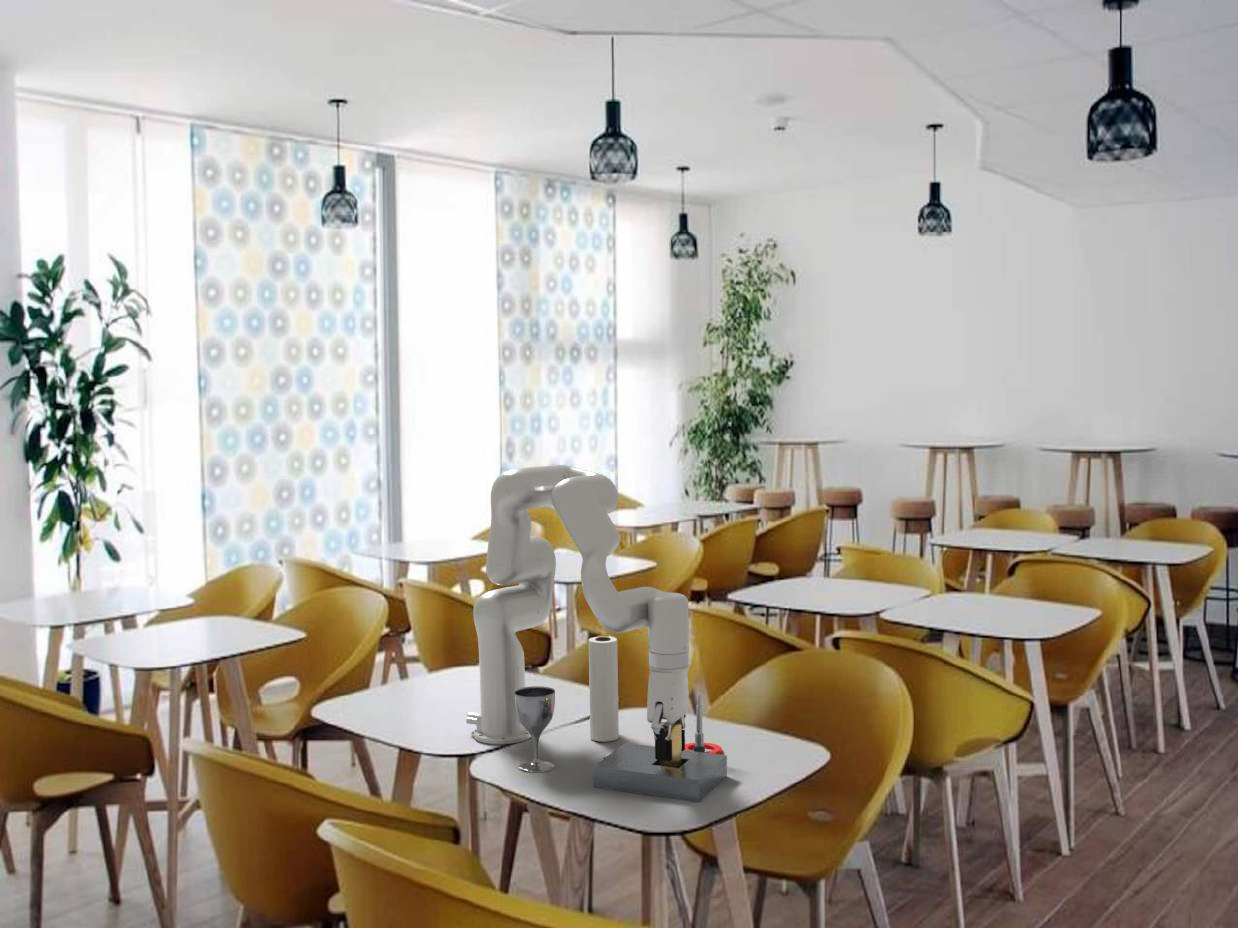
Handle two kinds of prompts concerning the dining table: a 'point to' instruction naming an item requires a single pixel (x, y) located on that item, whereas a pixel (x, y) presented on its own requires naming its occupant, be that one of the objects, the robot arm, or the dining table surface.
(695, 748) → the tow hook
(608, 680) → the paper towel roll
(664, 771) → the grey block with hole
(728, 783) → the dining table surface
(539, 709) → the wine glass
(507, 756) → the dining table surface
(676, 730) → the brass pin
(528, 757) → the dining table surface
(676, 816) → the dining table surface
